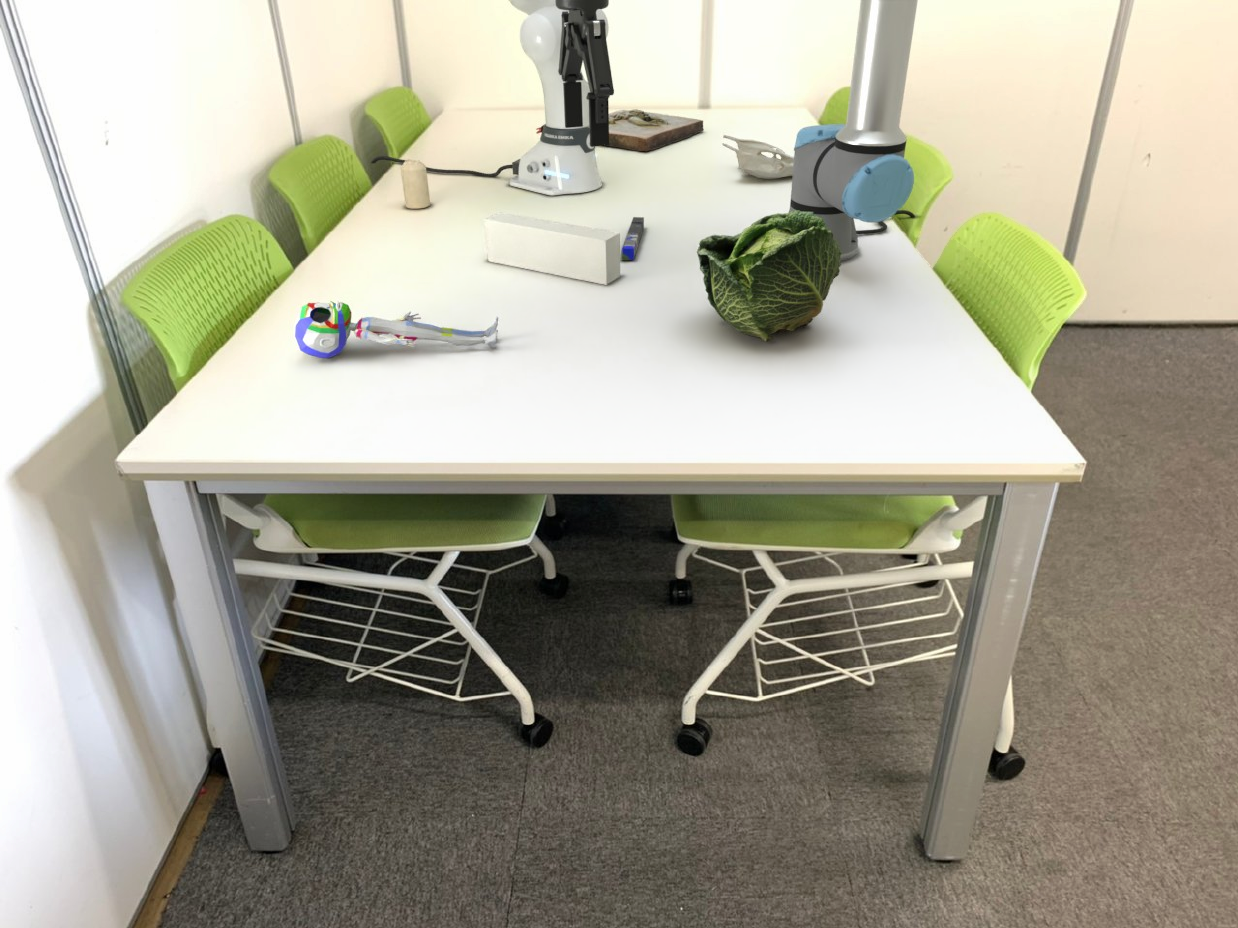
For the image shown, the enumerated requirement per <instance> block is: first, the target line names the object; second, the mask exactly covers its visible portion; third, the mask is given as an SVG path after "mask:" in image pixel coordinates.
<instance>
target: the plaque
mask: <svg viewBox="0 0 1238 928" xmlns="http://www.w3.org/2000/svg"><path fill="white" fill-rule="evenodd" d="M704 130H705V129H704V120H702V119H698V118H693V117H685V116H679V115H669V114H663V113H659V112H650V111H644V110H642V109H637V108H636V109H635V108H634V109H630V110H629V109H620V110H616V111H613V112H609V145H606V146H607V147H612V148H620V149H625V150H632V151H640V152H648V151H654V150H656V149H659V148H662V147H663V146H664V147H665V146H667V145H670V144H672V143H676V142H680V141H682V140H684V139H687V138H691V137H692V136H694V135H696V134H698V133H700V132H704Z"/></svg>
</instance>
